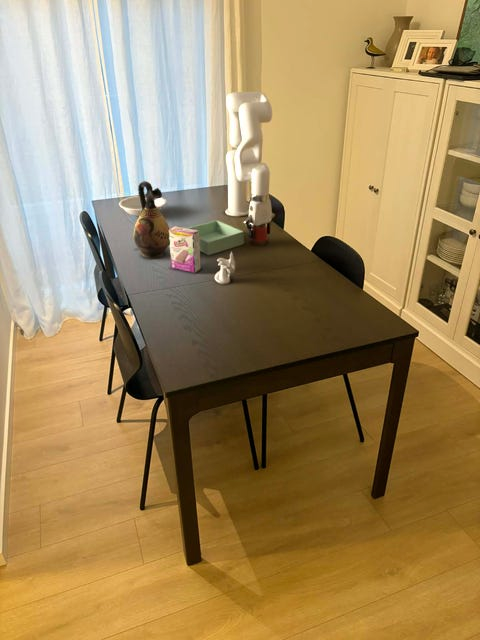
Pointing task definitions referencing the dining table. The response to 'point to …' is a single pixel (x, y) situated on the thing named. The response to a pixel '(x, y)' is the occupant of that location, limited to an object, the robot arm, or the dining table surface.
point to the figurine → (225, 270)
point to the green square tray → (218, 237)
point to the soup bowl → (139, 205)
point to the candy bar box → (184, 249)
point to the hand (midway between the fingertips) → (259, 235)
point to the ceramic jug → (150, 224)
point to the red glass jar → (260, 234)
